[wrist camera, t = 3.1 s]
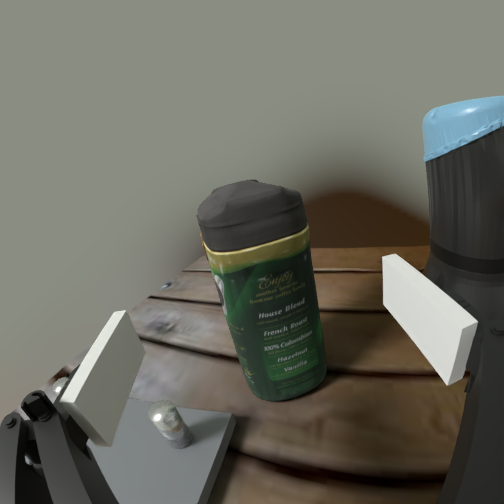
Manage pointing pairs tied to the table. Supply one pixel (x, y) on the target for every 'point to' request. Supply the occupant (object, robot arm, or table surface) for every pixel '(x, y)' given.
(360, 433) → the table surface
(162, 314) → the table surface
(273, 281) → the coffee jar
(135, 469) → the base plate
